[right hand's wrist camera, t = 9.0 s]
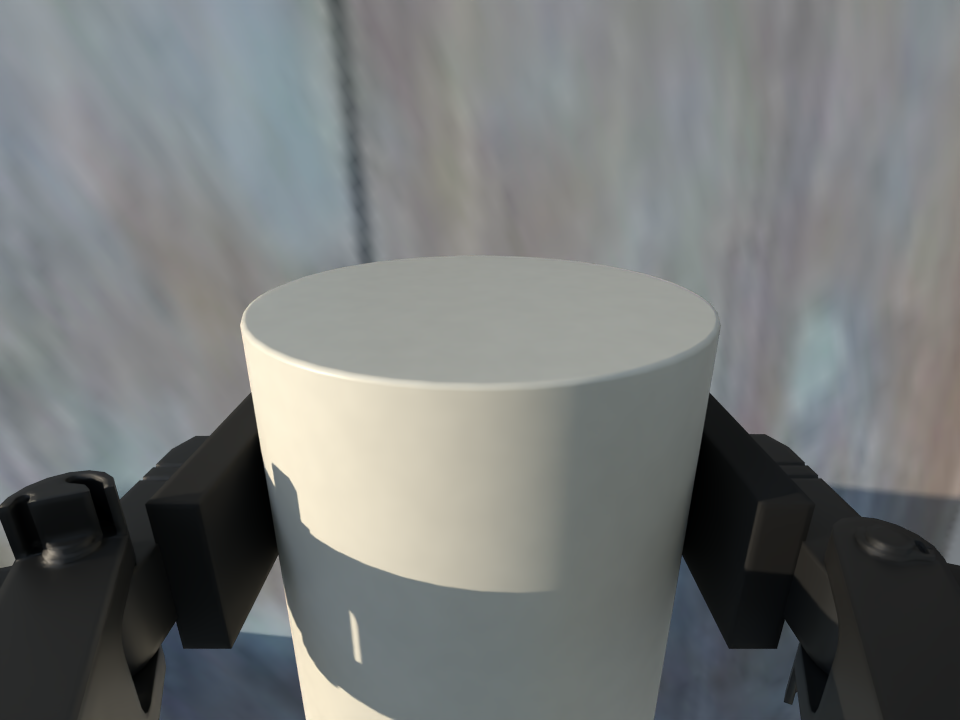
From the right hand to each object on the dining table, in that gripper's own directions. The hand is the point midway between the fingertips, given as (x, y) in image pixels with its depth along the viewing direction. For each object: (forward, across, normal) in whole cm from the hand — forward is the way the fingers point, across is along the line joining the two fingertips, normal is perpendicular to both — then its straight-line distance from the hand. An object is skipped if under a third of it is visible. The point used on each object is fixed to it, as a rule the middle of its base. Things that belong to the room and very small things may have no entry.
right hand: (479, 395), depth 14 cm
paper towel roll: (0, 0, -10) cm, 10 cm away
